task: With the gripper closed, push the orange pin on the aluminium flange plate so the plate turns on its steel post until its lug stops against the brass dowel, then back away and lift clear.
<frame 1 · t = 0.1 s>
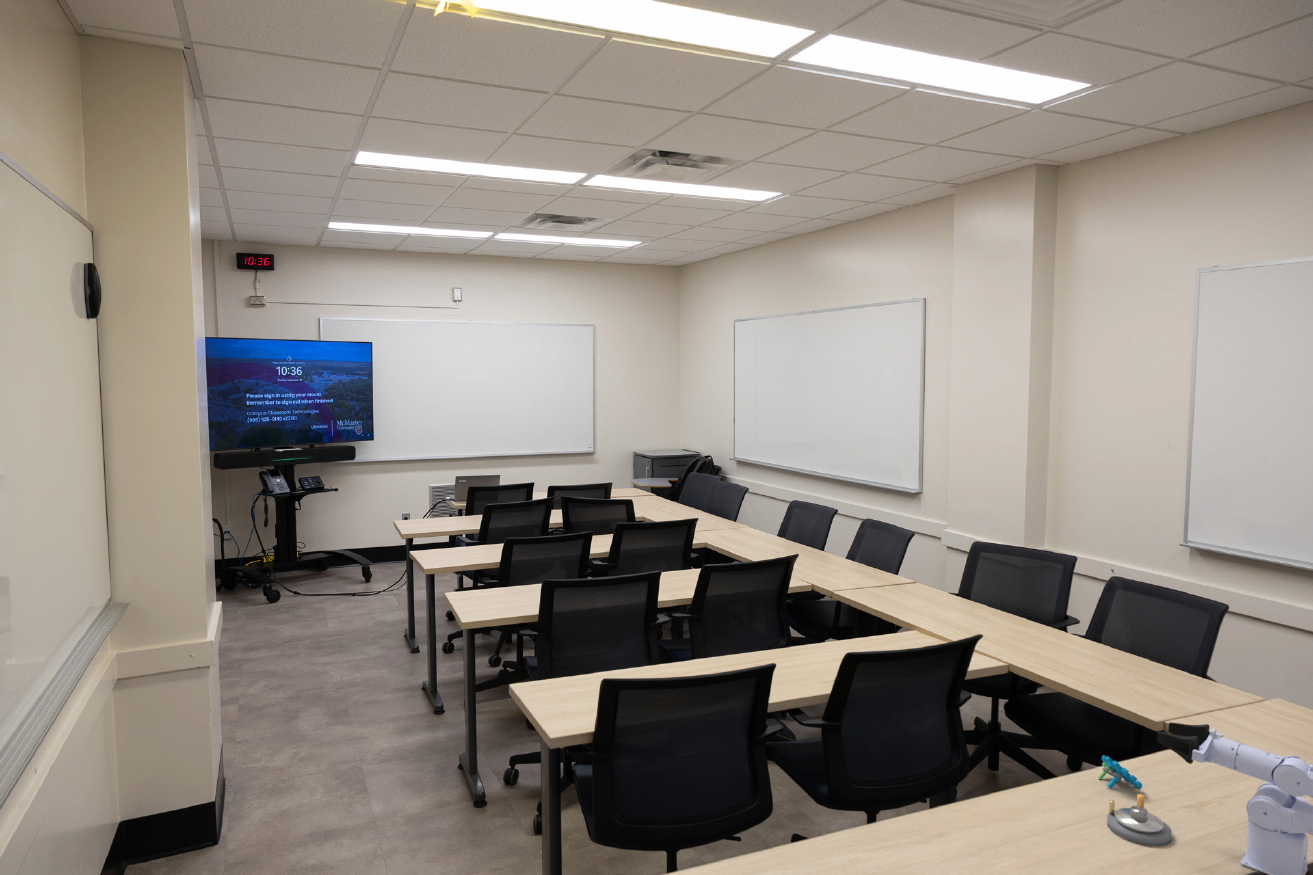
hand: (1163, 731, 171), 22 cm above the table, tool horizontal, fingers open, 7 cm apart
flange: (1139, 812, 172), point 4 cm above the table, hinge at 0.0°
post base: (1138, 830, 171), on the table
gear: (1119, 786, 191), on the table
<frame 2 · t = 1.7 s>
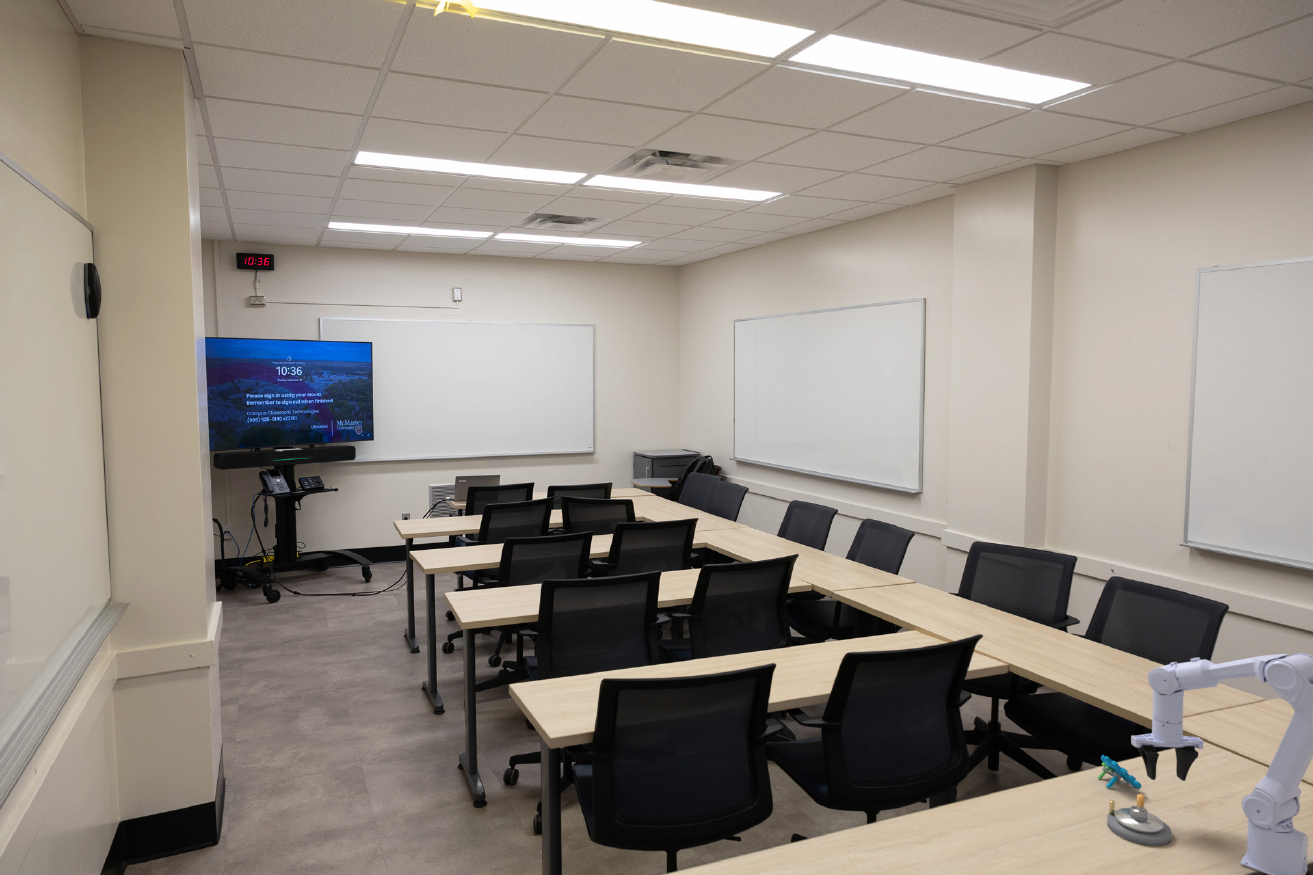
hand: (1166, 778, 176), 9 cm above the table, tool pointing down, fingers open, 6 cm apart
nothing on the table moved.
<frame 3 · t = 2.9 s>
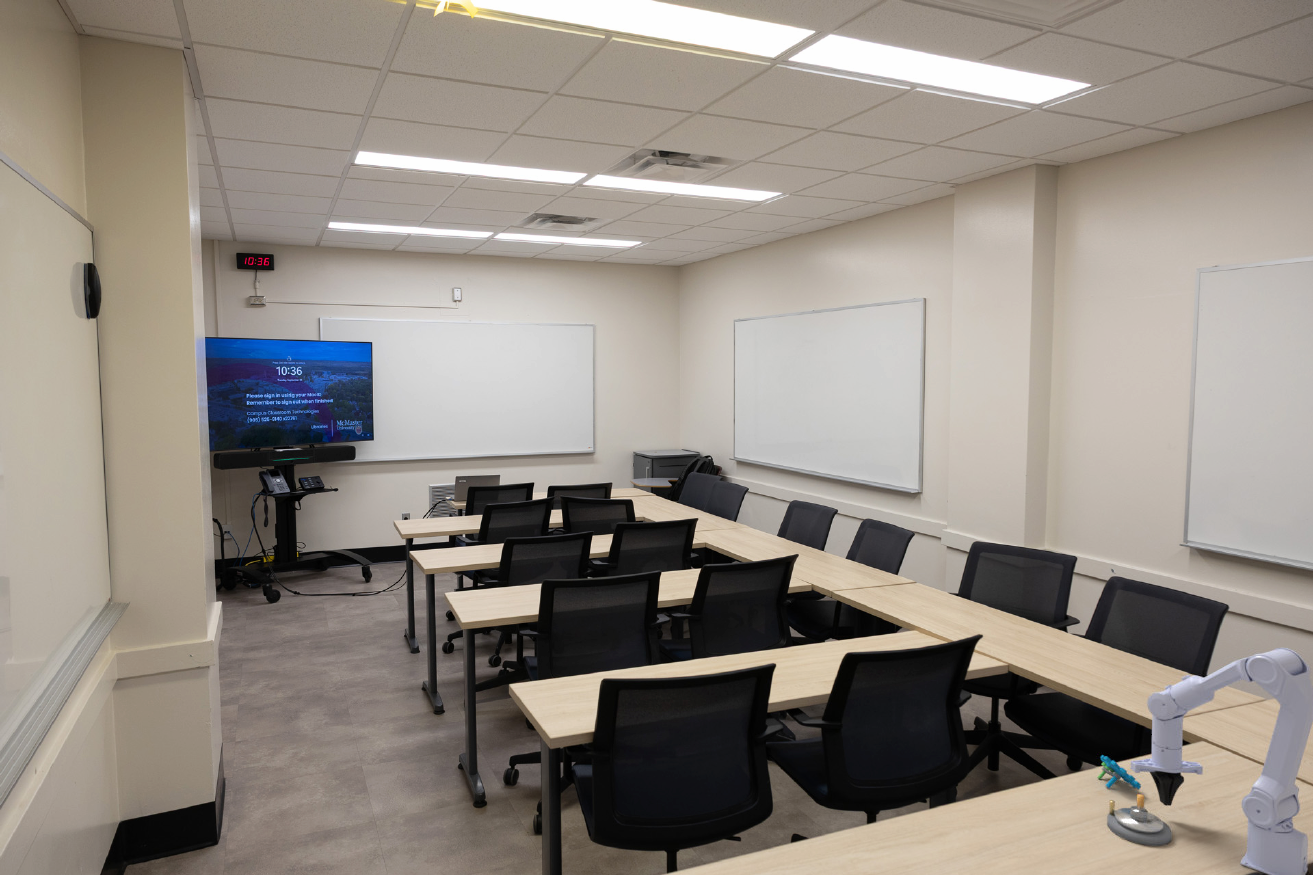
hand: (1165, 803, 176), 4 cm above the table, tool pointing down, fingers closed
nothing on the table moved.
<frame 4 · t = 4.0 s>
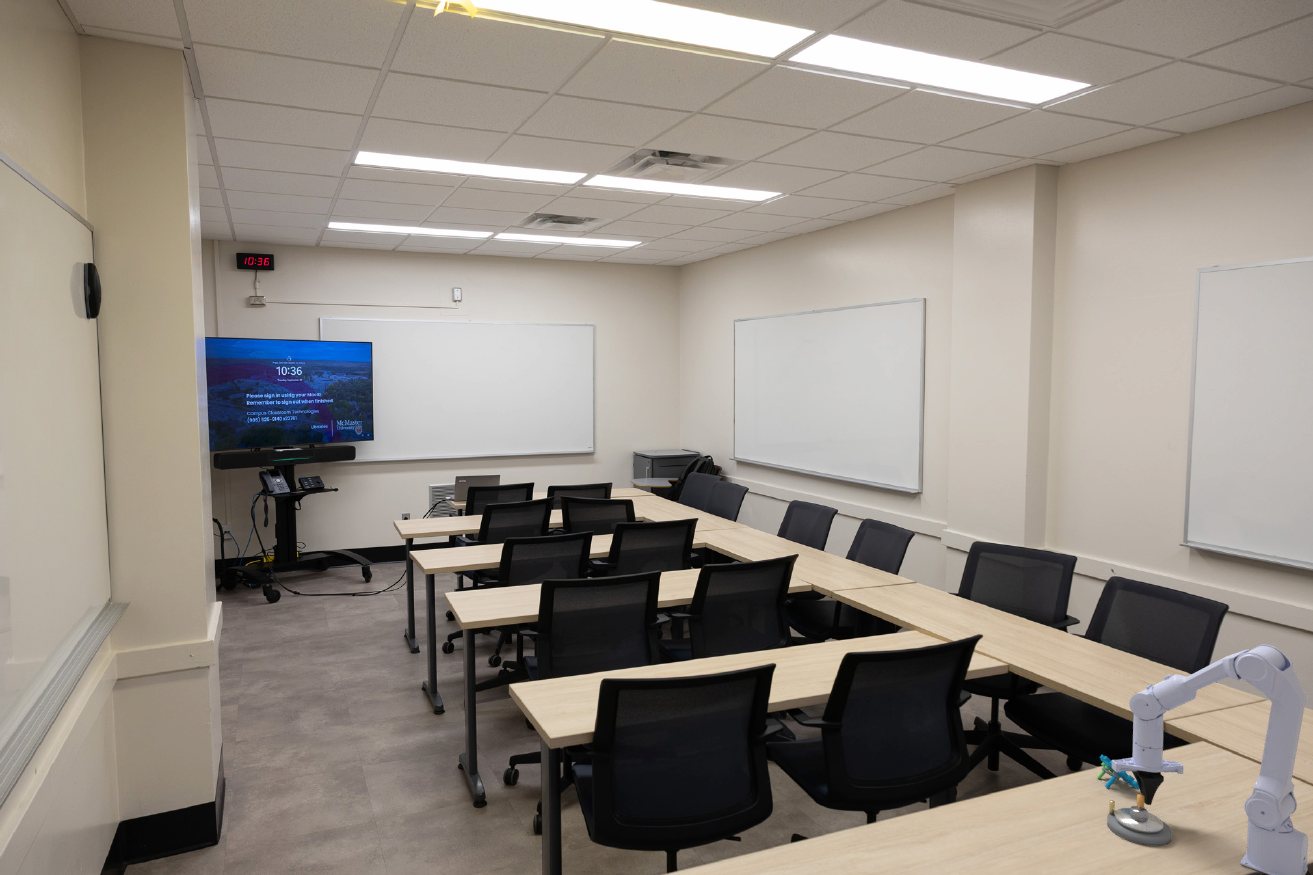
hand: (1146, 802, 176), 4 cm above the table, tool pointing down, fingers closed, pressing on flange
flange: (1139, 812, 172), point 4 cm above the table, hinge at 0.1°, touching gripper
everything else where it was.
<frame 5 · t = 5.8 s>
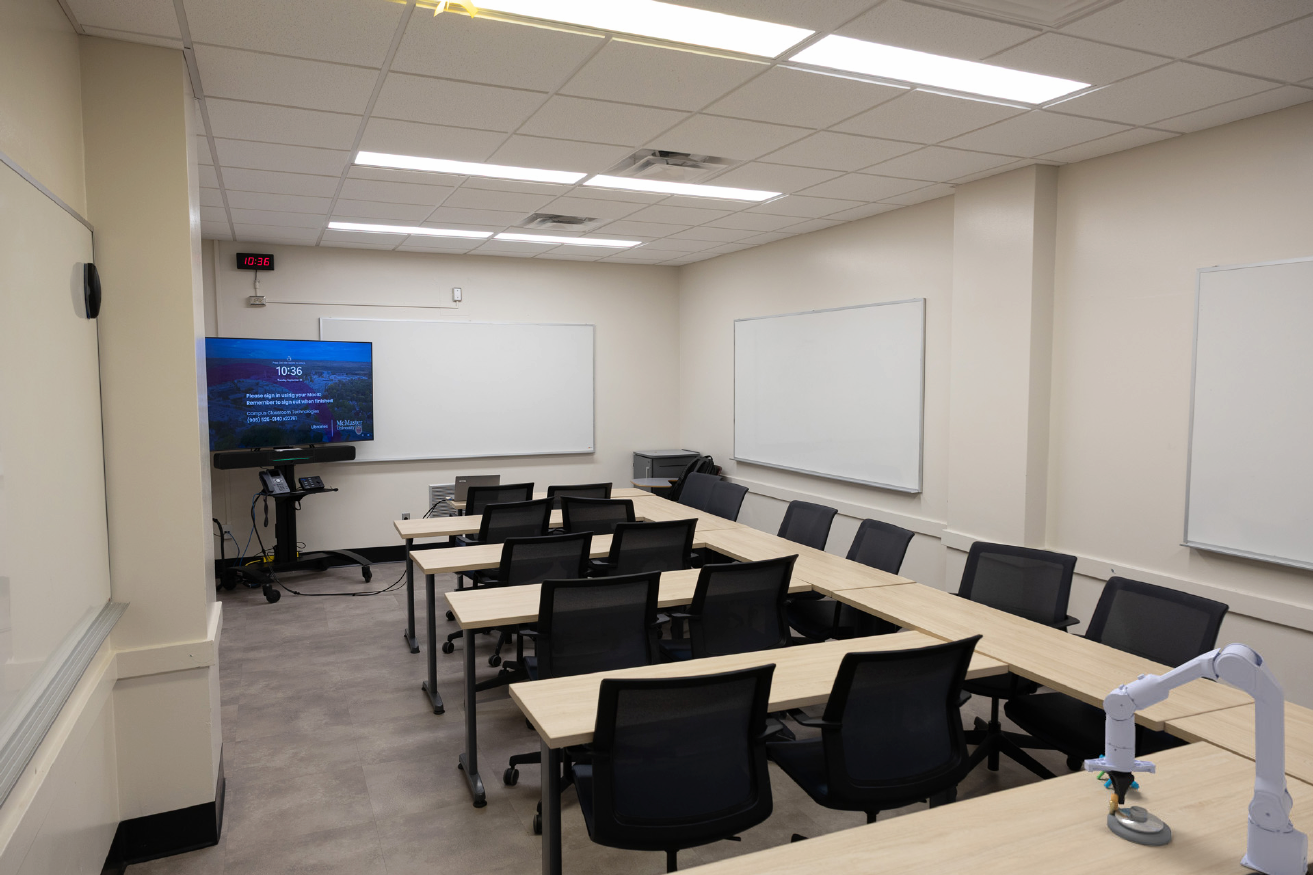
hand: (1119, 802, 176), 4 cm above the table, tool pointing down, fingers closed
flange: (1134, 811, 172), point 4 cm above the table, hinge at 62.1°, touching gripper, post base
everything else where it was.
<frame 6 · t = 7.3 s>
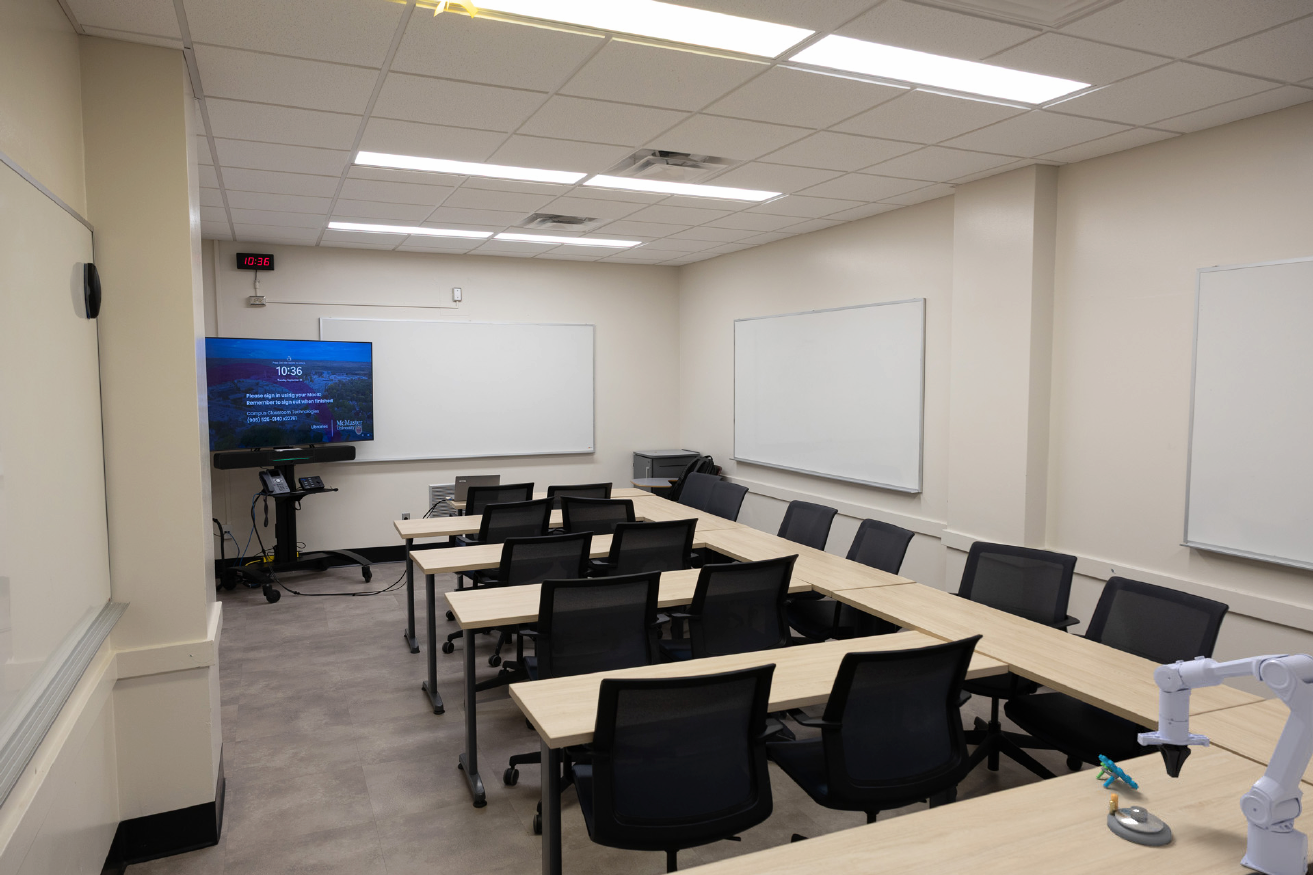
hand: (1172, 775, 177), 9 cm above the table, tool pointing down, fingers closed
flange: (1134, 811, 172), point 4 cm above the table, hinge at 62.0°
everything else where it was.
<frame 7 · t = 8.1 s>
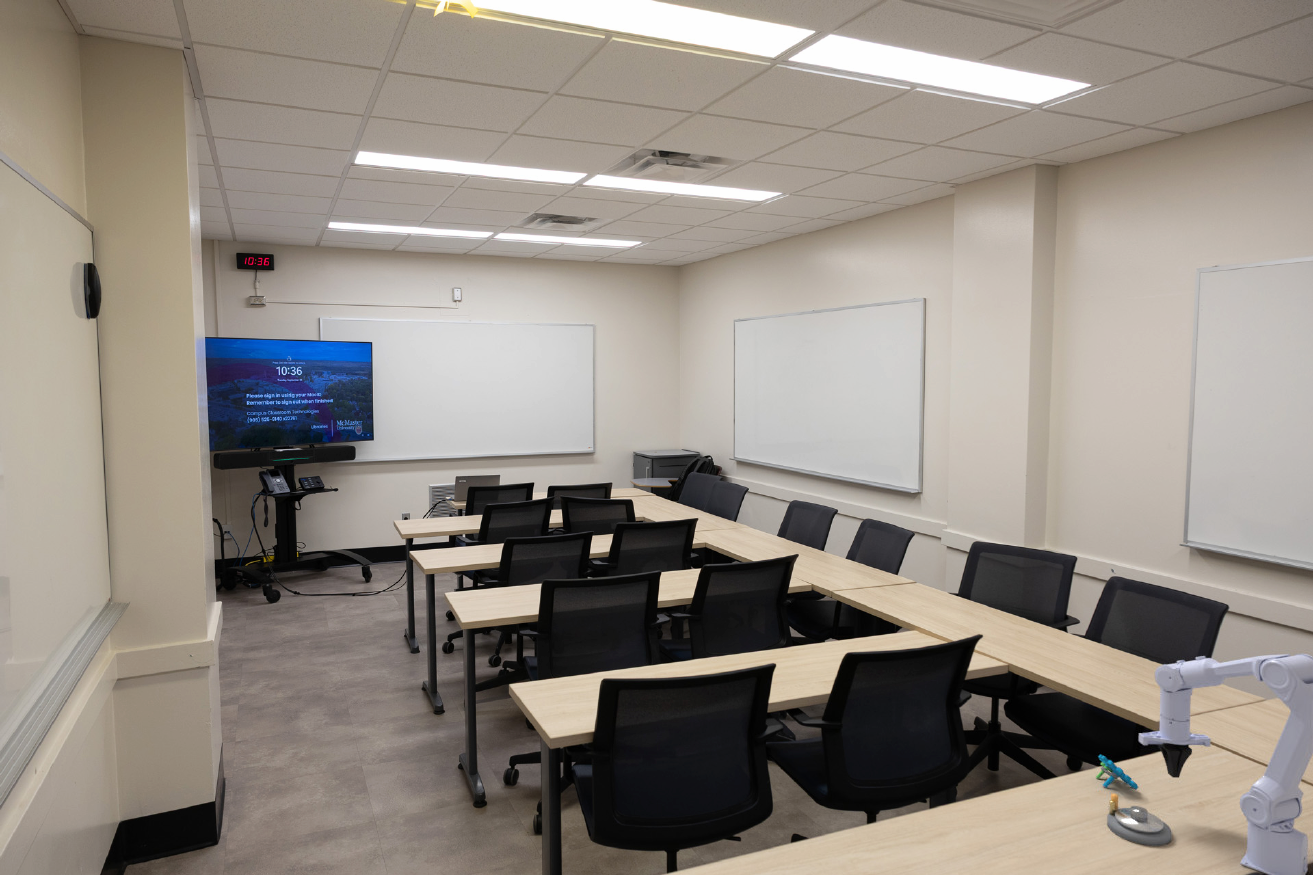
hand: (1173, 775, 177), 9 cm above the table, tool pointing down, fingers closed
nothing on the table moved.
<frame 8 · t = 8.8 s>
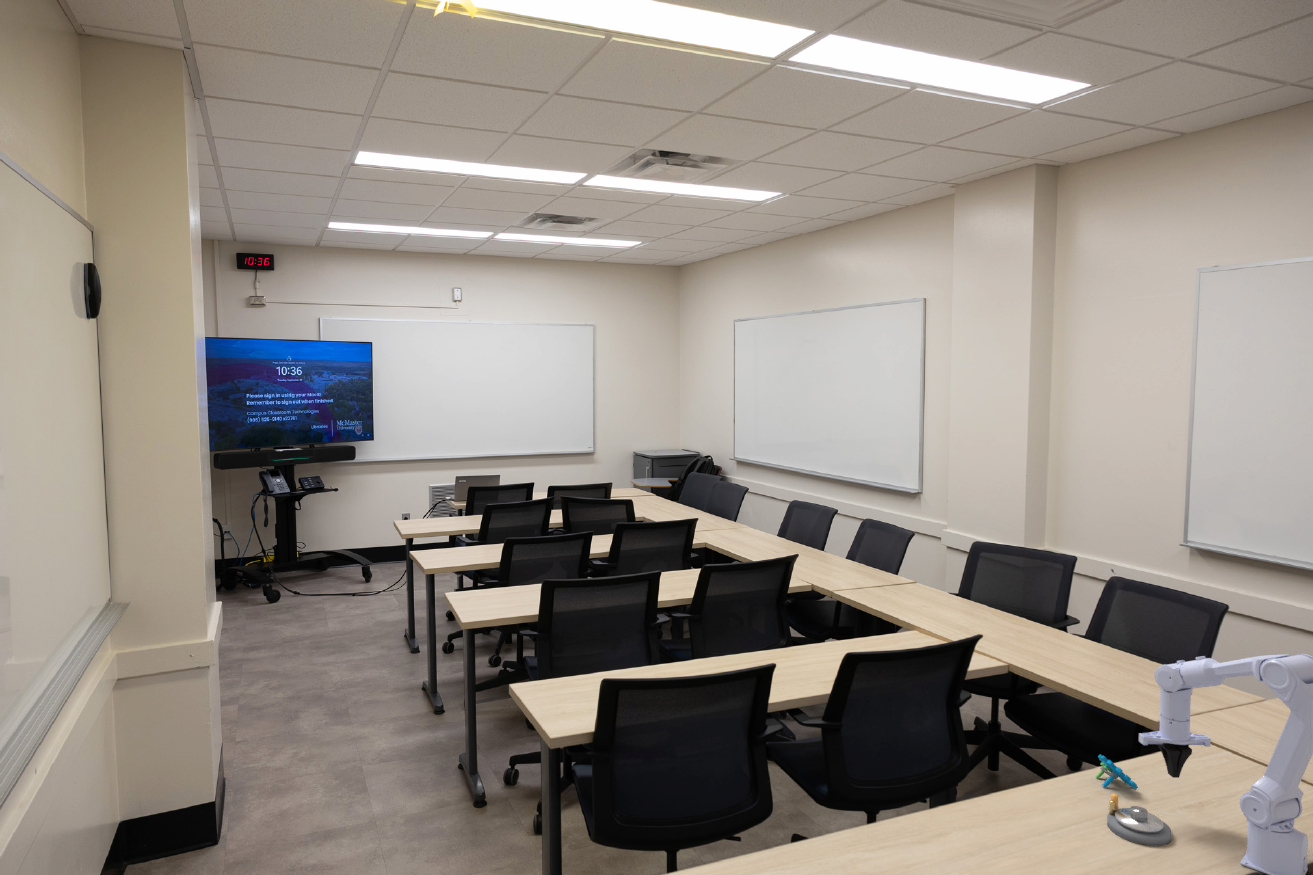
hand: (1173, 775, 177), 9 cm above the table, tool pointing down, fingers closed
nothing on the table moved.
at the end: flange at +62° (first picture: +0°); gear moved 0.9 cm from its start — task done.
